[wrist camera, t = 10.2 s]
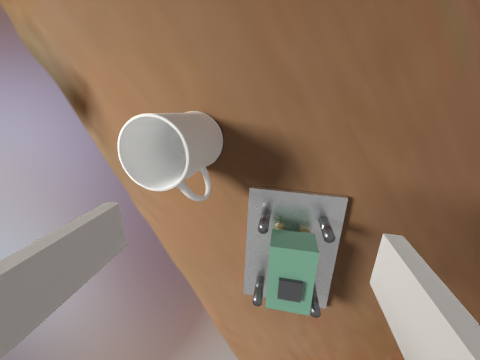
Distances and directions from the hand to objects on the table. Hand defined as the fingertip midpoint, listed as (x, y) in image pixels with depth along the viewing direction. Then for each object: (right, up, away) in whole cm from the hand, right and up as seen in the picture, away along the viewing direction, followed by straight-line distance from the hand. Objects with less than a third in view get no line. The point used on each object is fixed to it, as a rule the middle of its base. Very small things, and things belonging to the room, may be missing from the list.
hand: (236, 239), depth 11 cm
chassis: (+8, -8, +25) cm, 27 cm away
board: (+8, -9, +22) cm, 25 cm away
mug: (-6, +8, +23) cm, 25 cm away
